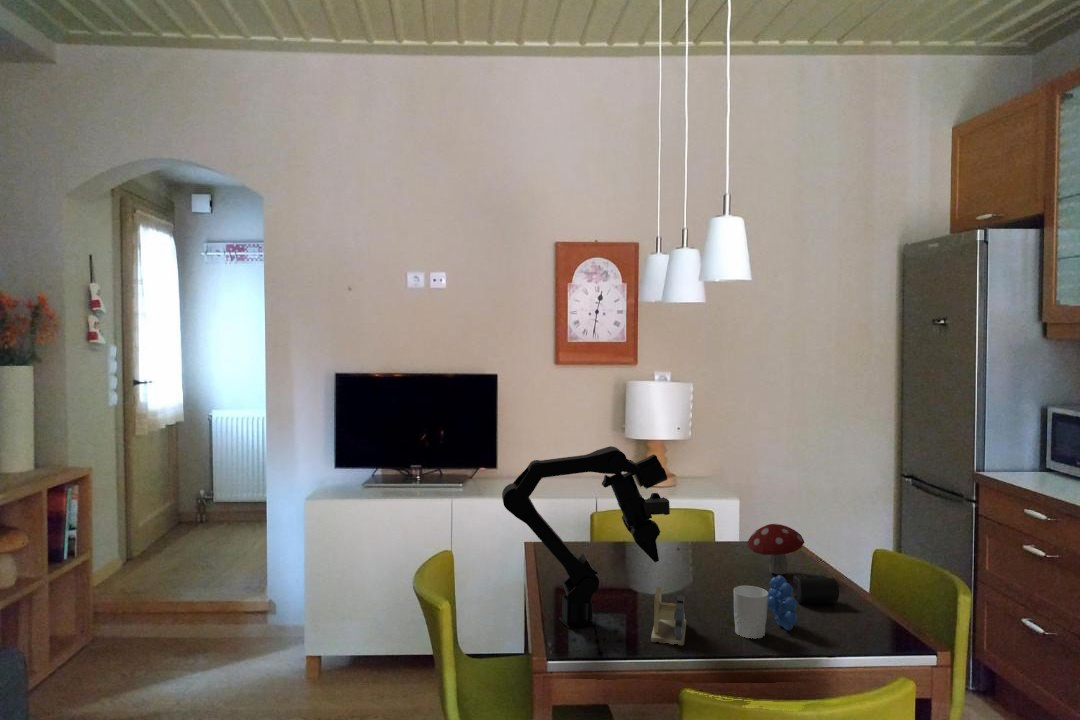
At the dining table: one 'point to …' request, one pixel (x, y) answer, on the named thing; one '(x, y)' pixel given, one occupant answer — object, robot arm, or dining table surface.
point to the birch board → (667, 633)
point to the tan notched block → (662, 610)
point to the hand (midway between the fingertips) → (653, 556)
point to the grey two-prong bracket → (679, 618)
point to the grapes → (782, 602)
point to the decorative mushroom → (775, 545)
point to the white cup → (750, 611)
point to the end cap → (815, 590)
